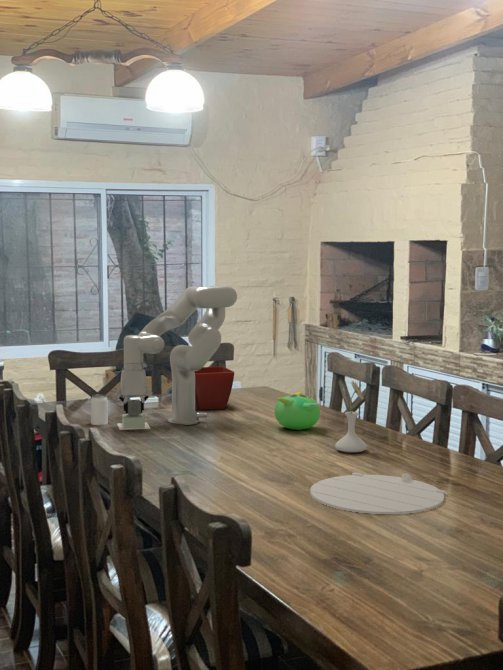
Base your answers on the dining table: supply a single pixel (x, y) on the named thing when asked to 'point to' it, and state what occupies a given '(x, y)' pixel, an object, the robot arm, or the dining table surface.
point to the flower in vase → (352, 429)
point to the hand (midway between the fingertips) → (133, 412)
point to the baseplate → (132, 428)
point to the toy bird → (297, 411)
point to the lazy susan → (377, 494)
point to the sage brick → (133, 421)
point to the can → (99, 410)
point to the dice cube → (134, 407)
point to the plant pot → (213, 387)
